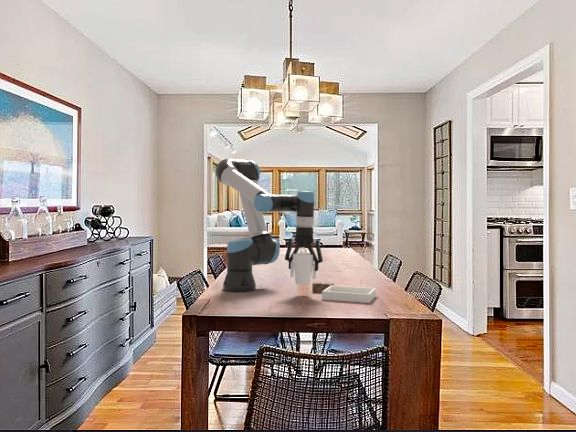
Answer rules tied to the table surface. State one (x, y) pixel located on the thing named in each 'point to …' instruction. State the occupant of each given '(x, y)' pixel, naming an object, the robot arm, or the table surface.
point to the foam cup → (303, 267)
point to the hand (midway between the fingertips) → (303, 277)
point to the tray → (349, 294)
